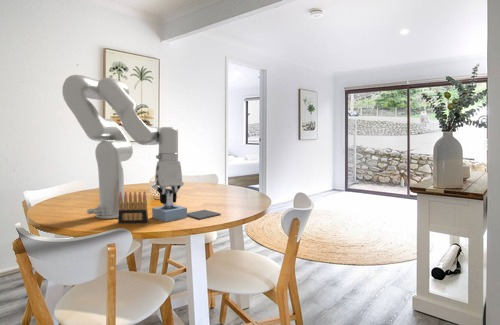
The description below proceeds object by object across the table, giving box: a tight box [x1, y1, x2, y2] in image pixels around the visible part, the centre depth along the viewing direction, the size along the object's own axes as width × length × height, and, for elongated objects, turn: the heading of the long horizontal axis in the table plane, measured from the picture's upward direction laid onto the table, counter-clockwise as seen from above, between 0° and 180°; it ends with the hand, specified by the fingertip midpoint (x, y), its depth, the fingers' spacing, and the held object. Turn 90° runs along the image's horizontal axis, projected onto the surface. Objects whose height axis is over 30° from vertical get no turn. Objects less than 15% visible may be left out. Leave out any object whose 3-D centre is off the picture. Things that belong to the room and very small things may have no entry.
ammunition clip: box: [117, 191, 149, 224], centre depth 121 cm, size 11×2×12 cm, turn 95°
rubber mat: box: [187, 209, 222, 221], centre depth 133 cm, size 11×11×1 cm
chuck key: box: [162, 187, 175, 210], centre depth 129 cm, size 4×8×10 cm, turn 45°
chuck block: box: [151, 203, 188, 223], centre depth 129 cm, size 10×10×4 cm
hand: (168, 202), depth 129 cm, fingers closed on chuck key, 4 cm apart
